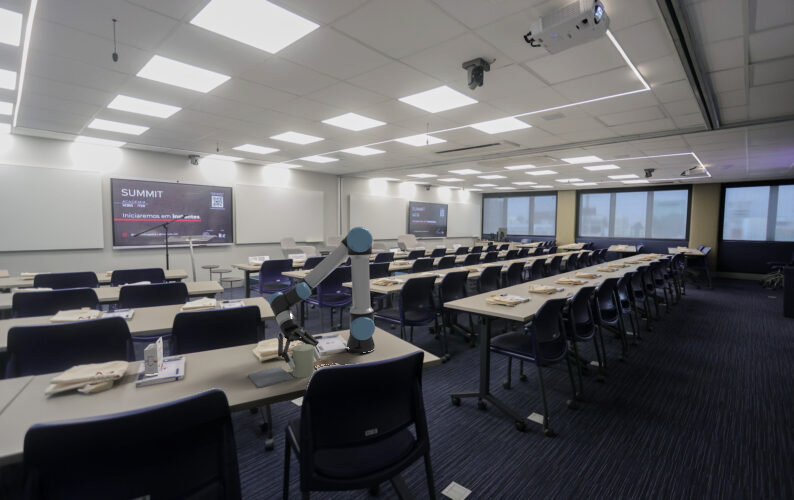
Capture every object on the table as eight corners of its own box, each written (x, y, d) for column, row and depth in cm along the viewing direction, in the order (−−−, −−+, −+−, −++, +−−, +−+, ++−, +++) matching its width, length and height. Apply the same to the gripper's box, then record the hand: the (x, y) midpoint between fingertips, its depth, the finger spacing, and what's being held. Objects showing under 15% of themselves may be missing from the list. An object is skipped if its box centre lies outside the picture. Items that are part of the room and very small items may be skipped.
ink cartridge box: (150, 369, 151) (149, 336, 151) (163, 368, 153) (162, 335, 153) (143, 377, 144) (143, 342, 143) (158, 376, 145) (157, 341, 145)
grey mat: (280, 368, 156) (280, 366, 156) (292, 378, 145) (292, 377, 145) (247, 376, 147) (247, 374, 147) (258, 387, 136) (258, 385, 136)
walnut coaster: (330, 359, 168) (330, 358, 168) (342, 366, 159) (342, 365, 159) (309, 364, 161) (309, 363, 161) (320, 372, 153) (320, 370, 152)
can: (287, 374, 149) (287, 347, 149) (302, 367, 157) (302, 341, 157) (303, 379, 145) (303, 351, 144) (318, 371, 153) (318, 345, 152)
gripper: (306, 322, 169) (325, 360, 160) (259, 332, 151) (277, 376, 142) (313, 313, 166) (332, 352, 157) (265, 323, 147) (284, 367, 138)
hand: (306, 364), depth 149 cm, fingers open, 12 cm apart
